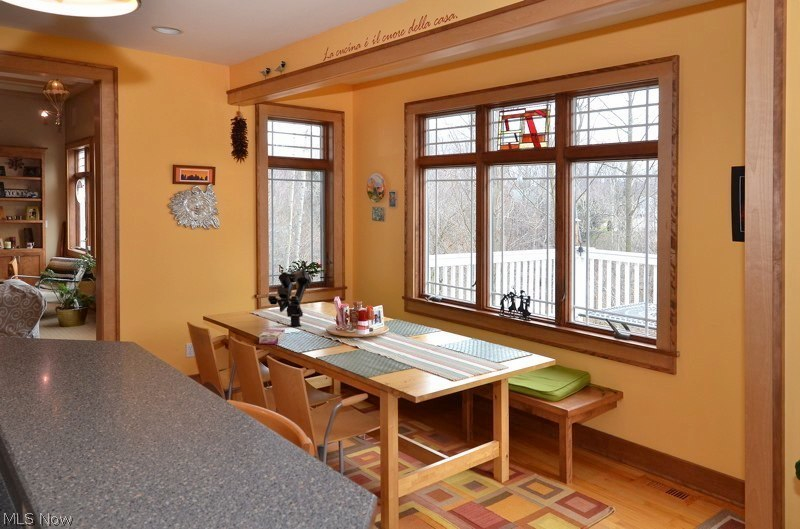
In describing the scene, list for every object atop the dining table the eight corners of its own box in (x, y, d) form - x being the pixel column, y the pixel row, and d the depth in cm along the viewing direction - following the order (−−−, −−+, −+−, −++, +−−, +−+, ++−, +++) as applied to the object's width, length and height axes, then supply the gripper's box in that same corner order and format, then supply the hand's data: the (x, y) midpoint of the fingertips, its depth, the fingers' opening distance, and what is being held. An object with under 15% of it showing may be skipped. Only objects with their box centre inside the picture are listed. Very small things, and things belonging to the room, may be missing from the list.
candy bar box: (267, 337, 377) (258, 343, 361) (266, 329, 377) (258, 335, 360) (285, 337, 376) (277, 344, 360) (285, 329, 375) (277, 335, 359)
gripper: (268, 282, 389) (261, 303, 379) (297, 282, 385) (291, 304, 376) (274, 293, 398) (267, 314, 388) (302, 293, 394) (297, 315, 384)
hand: (280, 311), depth 384 cm, fingers closed
